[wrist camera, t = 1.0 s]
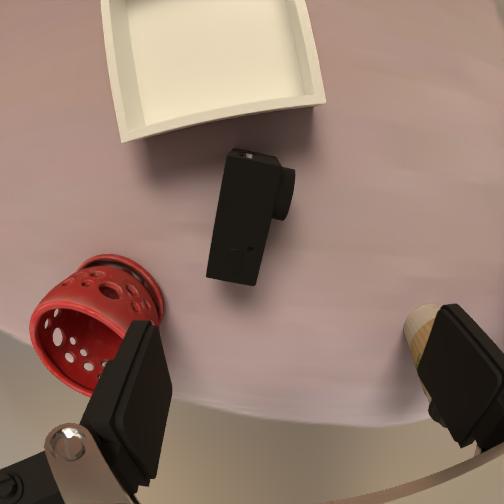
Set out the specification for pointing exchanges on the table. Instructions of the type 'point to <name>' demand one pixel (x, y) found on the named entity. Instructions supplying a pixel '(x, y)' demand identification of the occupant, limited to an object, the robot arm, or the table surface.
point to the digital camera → (247, 214)
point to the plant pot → (93, 317)
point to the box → (207, 61)
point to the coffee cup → (422, 343)
